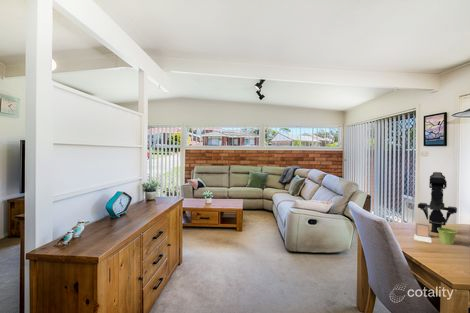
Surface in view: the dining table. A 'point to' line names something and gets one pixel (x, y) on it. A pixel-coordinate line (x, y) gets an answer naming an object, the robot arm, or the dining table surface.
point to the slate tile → (422, 230)
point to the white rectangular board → (422, 238)
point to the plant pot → (446, 235)
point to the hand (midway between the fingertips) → (436, 221)
